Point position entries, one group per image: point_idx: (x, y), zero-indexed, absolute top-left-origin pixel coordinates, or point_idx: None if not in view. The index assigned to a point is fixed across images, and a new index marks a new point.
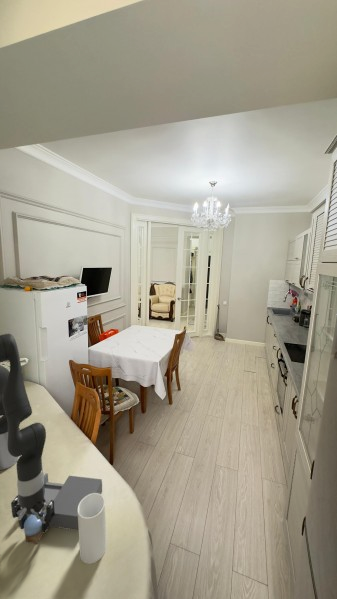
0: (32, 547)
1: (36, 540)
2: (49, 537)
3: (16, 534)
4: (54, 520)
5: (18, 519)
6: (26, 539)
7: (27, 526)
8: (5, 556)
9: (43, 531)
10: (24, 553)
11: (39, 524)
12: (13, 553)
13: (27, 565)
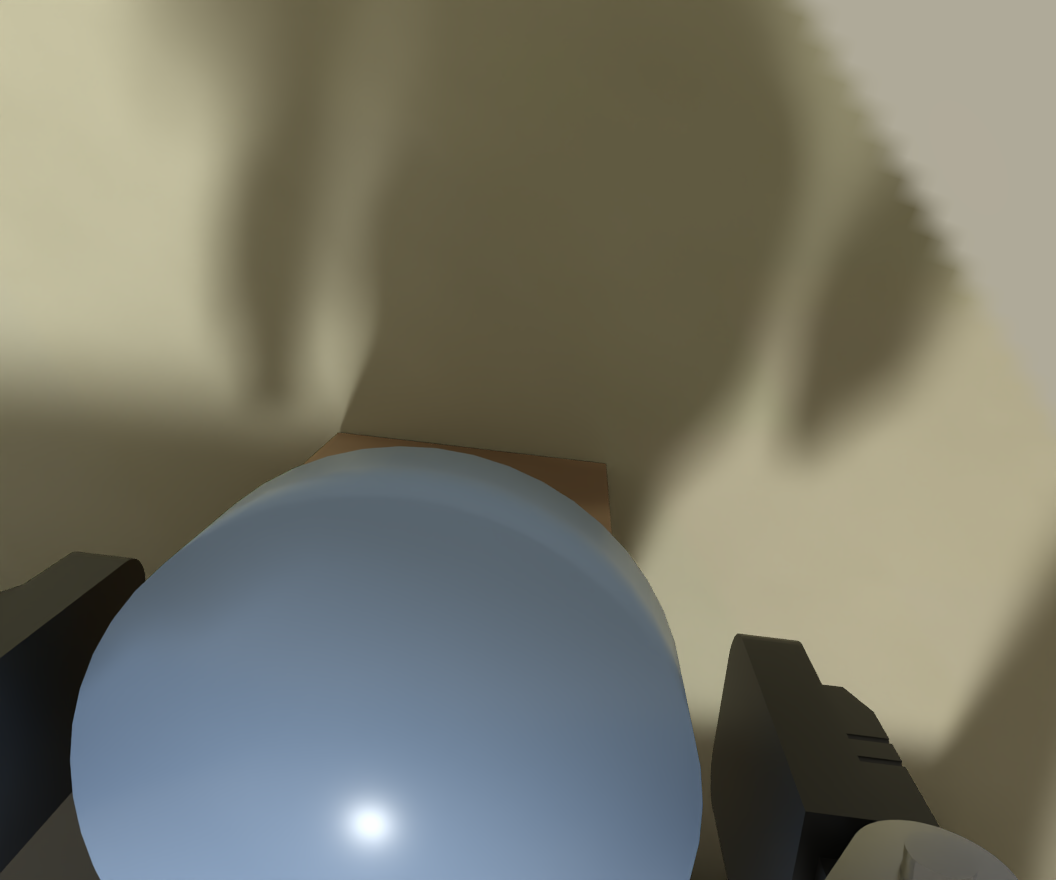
0: (393, 356)
1: (328, 453)
2: (143, 545)
3: (905, 604)
4: (62, 838)
5: (958, 844)
6: (584, 477)
7: (516, 637)
8: (904, 170)
9: (78, 562)
10: (501, 238)
11: (131, 695)
12: (752, 233)
13: (292, 7)
